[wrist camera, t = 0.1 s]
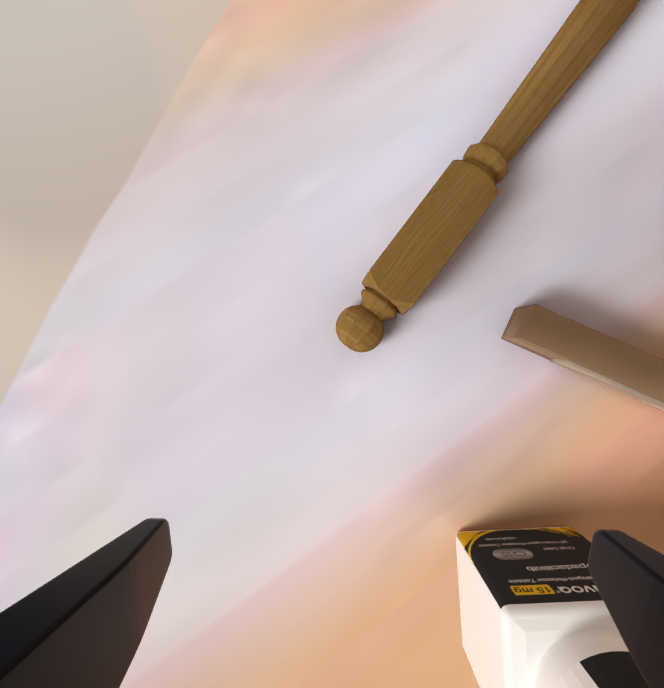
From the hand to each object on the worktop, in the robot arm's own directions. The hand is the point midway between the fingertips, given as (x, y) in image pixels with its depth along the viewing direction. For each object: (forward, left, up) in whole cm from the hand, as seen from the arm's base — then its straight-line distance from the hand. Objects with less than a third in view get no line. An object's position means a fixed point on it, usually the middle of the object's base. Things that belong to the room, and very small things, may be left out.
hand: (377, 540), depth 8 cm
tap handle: (+18, +4, -16) cm, 24 cm away
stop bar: (+12, -10, -15) cm, 22 cm away
